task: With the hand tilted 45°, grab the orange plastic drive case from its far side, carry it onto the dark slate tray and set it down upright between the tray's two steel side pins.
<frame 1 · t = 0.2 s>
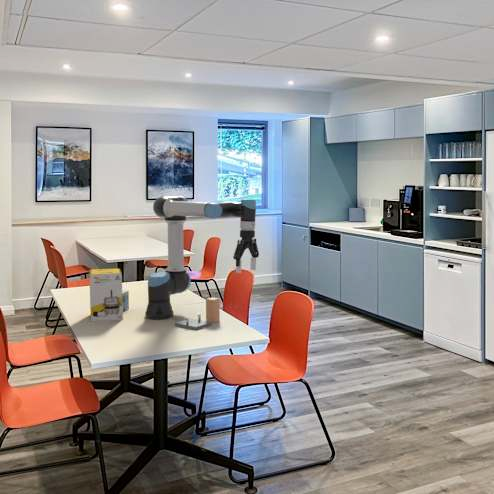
hand: (245, 271, 306), 28 cm above the table, tool pointing down, fingers open, 13 cm apart
drive case: (212, 321, 317), on the table
pin tray: (193, 325, 307), on the table
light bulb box: (120, 310, 341), on the table
packaging box: (106, 317, 326), on the table
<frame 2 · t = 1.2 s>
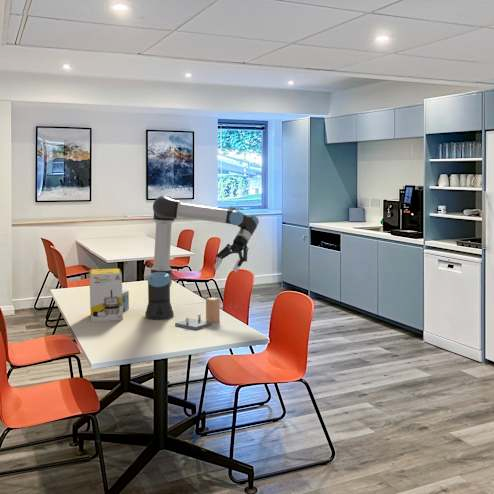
hand: (224, 269, 324), 26 cm above the table, tool tilted 45°, fingers open, 13 cm apart
nothing on the table moved.
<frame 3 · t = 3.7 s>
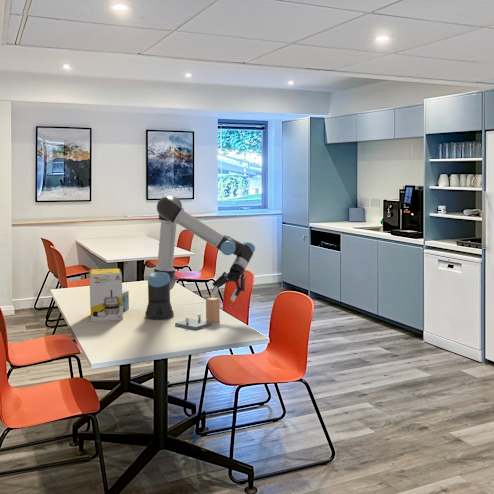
hand: (221, 298, 320), 11 cm above the table, tool tilted 45°, fingers open, 13 cm apart
nothing on the table moved.
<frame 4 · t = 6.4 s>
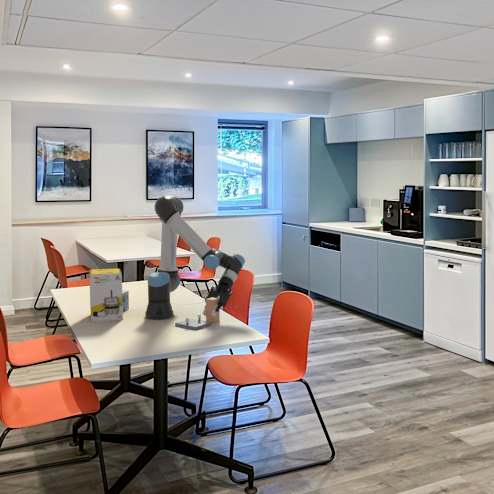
hand: (208, 315, 313), 4 cm above the table, tool tilted 45°, fingers closed on drive case, 5 cm apart
drive case: (212, 321, 317), on the table, touching gripper
everything else where it was.
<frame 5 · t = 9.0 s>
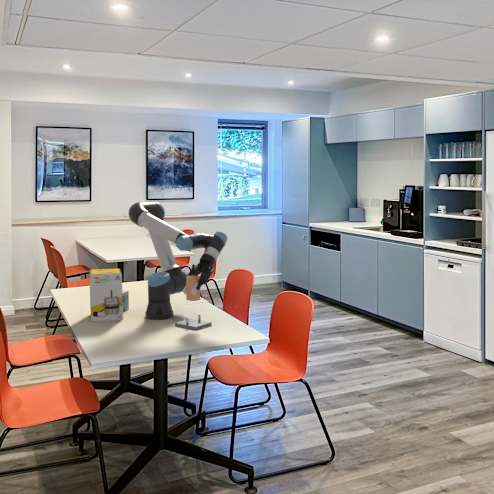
hand: (188, 293, 303), 17 cm above the table, tool tilted 45°, fingers closed on drive case, 5 cm apart
drive case: (193, 299, 306), point 13 cm above the table, touching gripper
everything else where it was.
when the fingers open (7 cm above the table, at t = 11.5 s): drive case drops 2 cm, resting on pin tray.
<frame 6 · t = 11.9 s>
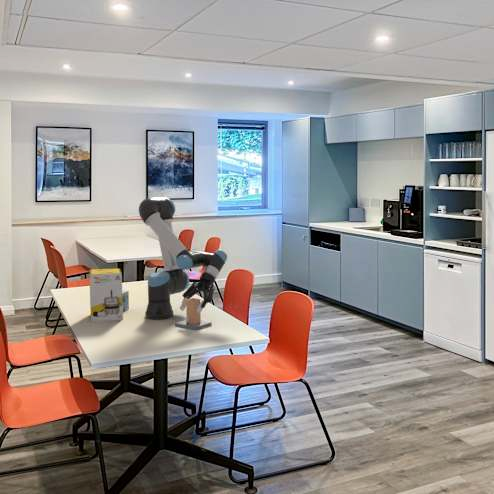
hand: (189, 310, 304), 8 cm above the table, tool tilted 45°, fingers open, 10 cm apart
drive case: (193, 322, 307), point 1 cm above the table, touching pin tray
everything else where it was.
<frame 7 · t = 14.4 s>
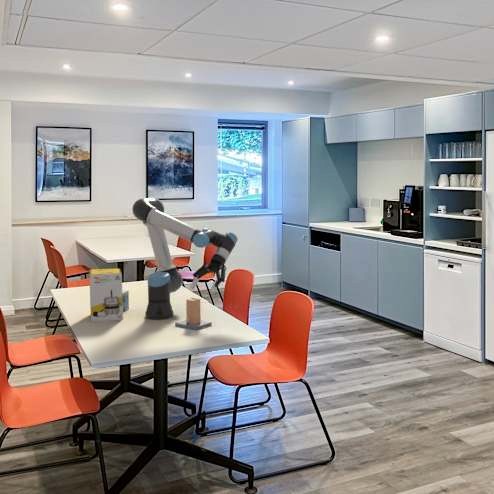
hand: (201, 290, 310), 17 cm above the table, tool tilted 45°, fingers open, 13 cm apart
nothing on the table moved.
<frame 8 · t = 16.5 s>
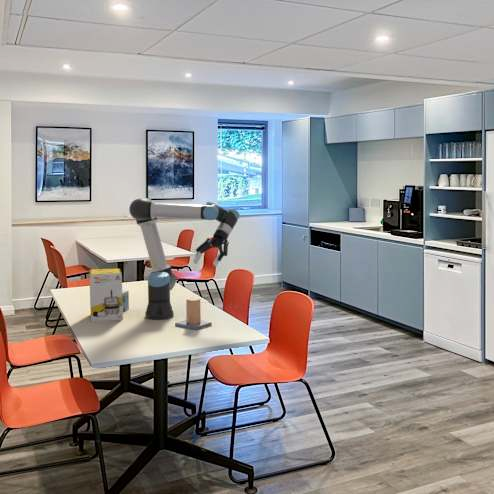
hand: (204, 264, 317), 30 cm above the table, tool tilted 45°, fingers open, 13 cm apart
nothing on the table moved.
at the end: drive case 0.1 cm off-centre on the pin tray, point 1.5 cm above the pin tray's base; drive case tilted 0°; the gripper is holding nothing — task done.
